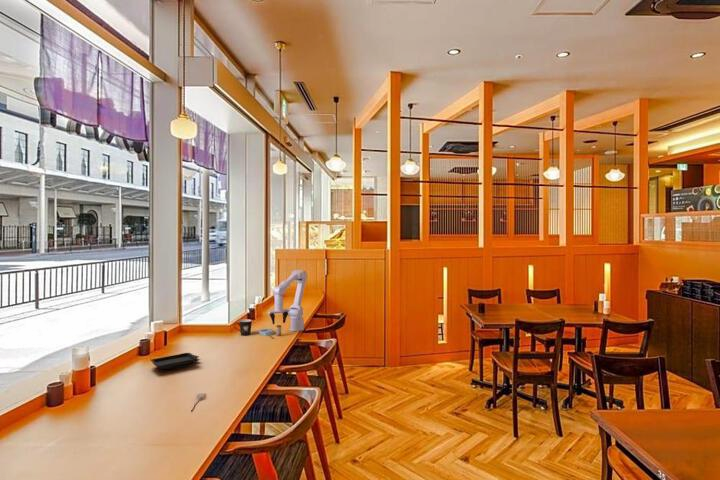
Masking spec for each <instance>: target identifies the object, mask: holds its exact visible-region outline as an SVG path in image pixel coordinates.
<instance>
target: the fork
mask: <svg viewBox="0 0 720 480" xmlns="http://www.w3.org/2000/svg"><path fill="white" fill-rule="evenodd" d="M206 394H207V393H206V392H205V393H204V392H203V393H201V392H200V393H197V394H196V396H195V397H196V401H195V402H194V403H193V404H196V403H198V402H199V401H200V399H202V397H204V395H206ZM196 405H197V404H196Z"/></svg>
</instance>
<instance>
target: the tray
mask: <svg viewBox="0 0 720 480" xmlns="http://www.w3.org/2000/svg"><path fill="white" fill-rule="evenodd" d="M199 357H200V356H199V355H196V354H193V353H191V352H183V353H180V354H179V353H178V354H172V355H167V356H162V357H157V358H152V359H150V362H151V363H152V364H153V365H154V366H155V367H156V368H157V369H158V370H159V369H162V368H163V370H171V369H173V371H176V369H177V370H180V369H181V368H184V367H185V365H186V366H187V364H188V365H189V363H190V364H191V362H192V363H195V362H197V360H198V359H199ZM183 366H184V367H183Z"/></svg>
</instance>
